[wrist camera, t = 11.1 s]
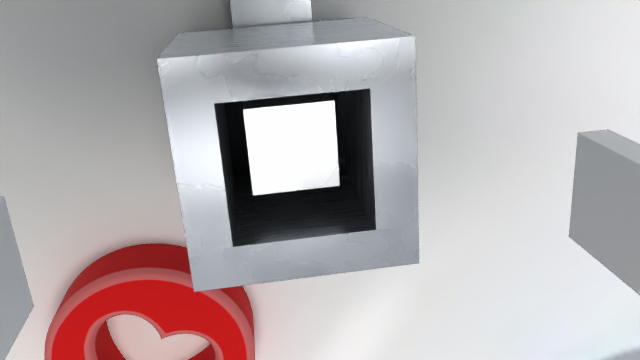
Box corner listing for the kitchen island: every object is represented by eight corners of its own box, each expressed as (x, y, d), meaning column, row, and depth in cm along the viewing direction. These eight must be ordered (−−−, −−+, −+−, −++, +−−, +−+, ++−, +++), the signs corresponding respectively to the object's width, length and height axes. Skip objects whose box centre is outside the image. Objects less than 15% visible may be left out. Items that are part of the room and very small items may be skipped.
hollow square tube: (204, 209, 26) (194, 291, 20) (178, 33, 24) (157, 59, 17) (374, 190, 27) (419, 263, 20) (366, 17, 24) (415, 36, 18)
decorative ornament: (69, 408, 32) (52, 453, 29) (51, 242, 29) (30, 274, 26) (252, 400, 34) (254, 442, 31) (254, 240, 30) (256, 270, 27)
